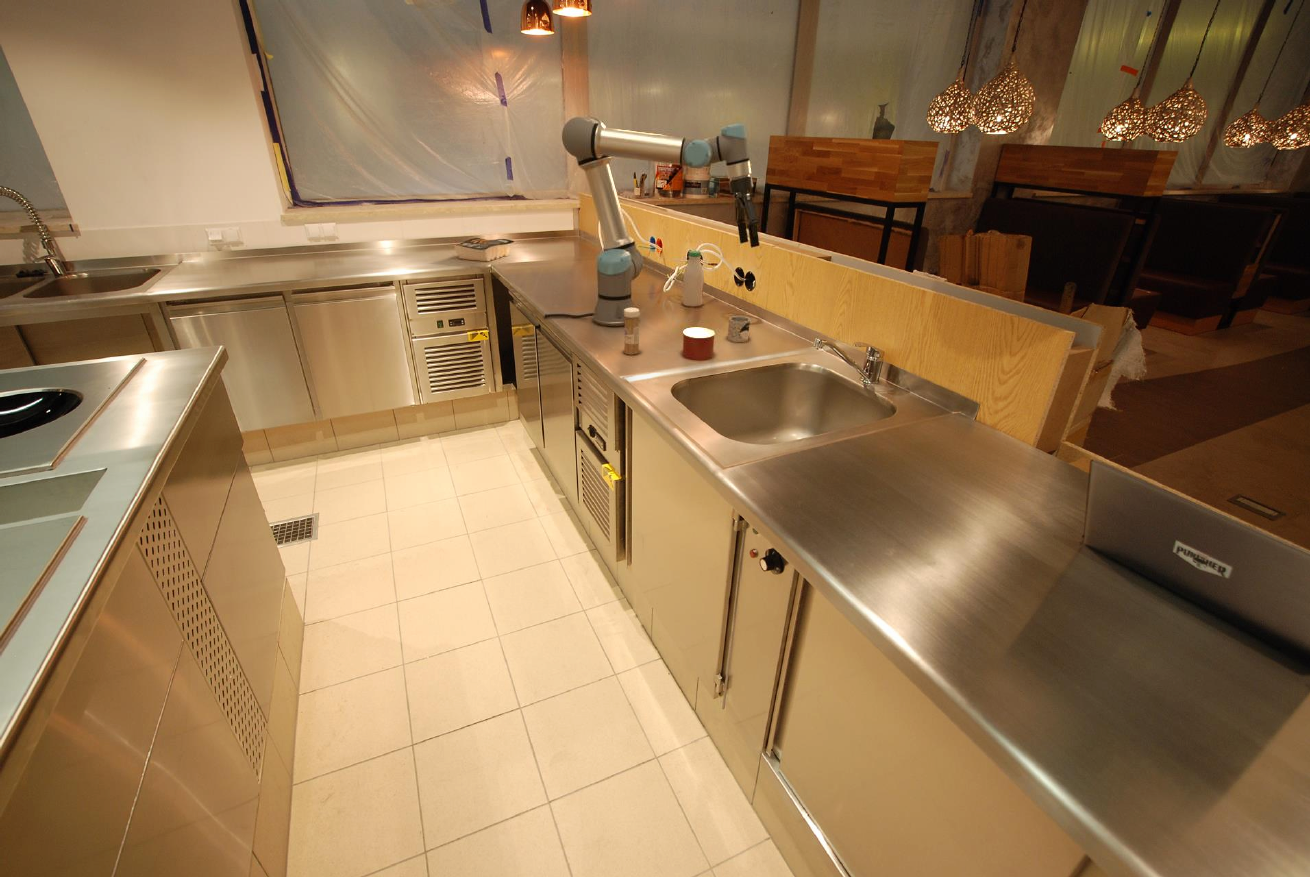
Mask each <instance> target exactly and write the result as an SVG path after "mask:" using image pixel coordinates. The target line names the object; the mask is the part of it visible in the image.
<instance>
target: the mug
mask: <svg viewBox="0 0 1310 877" xmlns="http://www.w3.org/2000/svg"><path fill="white" fill-rule="evenodd" d="M750 324H751V319H750V318H749V317H746V316H743V315H735V316H730V317H729V318H728V330H727V340H728V341H729V342H734V343H745V342H748V341H749V334H750Z"/></svg>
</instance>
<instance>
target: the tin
mask: <svg viewBox="0 0 1310 877" xmlns="http://www.w3.org/2000/svg"><path fill="white" fill-rule="evenodd" d="M682 333H683V335H682V336H683V338H682V356H683V357H685V358H686V359H689V360H693V361H705V360H710V359H711V358H713V356H714V347H715V346H714V344H715V343H714V342H715V335H716V332H715V331H714V330H712V329H710V328H705V327H689V328H686V329H684V330H683V332H682Z"/></svg>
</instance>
